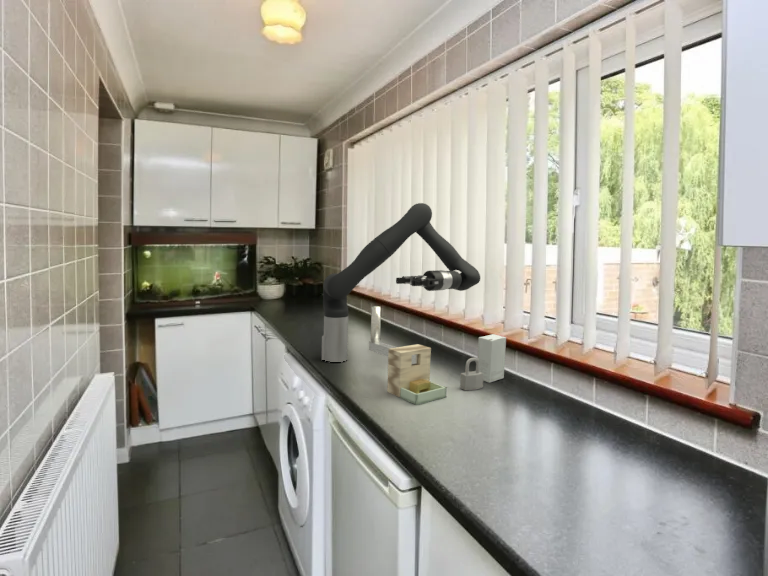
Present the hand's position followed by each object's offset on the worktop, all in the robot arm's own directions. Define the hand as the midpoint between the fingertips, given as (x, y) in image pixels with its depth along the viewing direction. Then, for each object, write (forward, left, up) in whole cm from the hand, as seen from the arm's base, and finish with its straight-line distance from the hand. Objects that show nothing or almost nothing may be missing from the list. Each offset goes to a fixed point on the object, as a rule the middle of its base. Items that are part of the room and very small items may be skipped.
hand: (404, 281), depth 159 cm
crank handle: (0, -16, -23) cm, 28 cm away
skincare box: (+31, -1, -32) cm, 45 cm away
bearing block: (+6, -22, -32) cm, 39 cm away
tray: (+12, -26, -32) cm, 43 cm away
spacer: (+10, -25, -31) cm, 41 cm away
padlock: (+25, -13, -32) cm, 43 cm away
